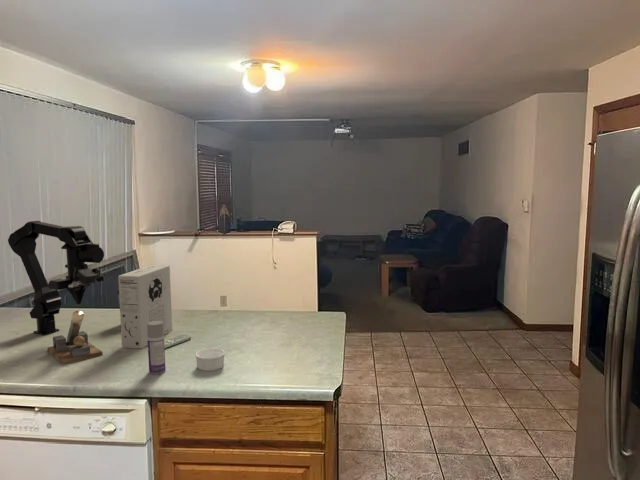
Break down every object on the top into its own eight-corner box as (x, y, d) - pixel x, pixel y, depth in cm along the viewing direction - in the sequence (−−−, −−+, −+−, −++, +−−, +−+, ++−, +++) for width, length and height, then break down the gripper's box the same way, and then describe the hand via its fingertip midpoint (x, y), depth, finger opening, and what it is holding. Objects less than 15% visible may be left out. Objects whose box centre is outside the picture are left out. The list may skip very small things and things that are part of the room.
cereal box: (154, 329, 197) (151, 264, 193) (172, 330, 195) (170, 265, 192) (121, 347, 176) (117, 275, 172) (141, 349, 174) (138, 276, 171)
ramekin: (226, 370, 155) (226, 356, 154) (196, 373, 153) (196, 359, 152) (223, 360, 163) (223, 346, 163) (195, 363, 161) (194, 349, 160)
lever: (63, 341, 173) (70, 311, 164) (74, 339, 175) (82, 309, 166) (66, 349, 171) (73, 319, 162) (77, 346, 174) (85, 317, 164)
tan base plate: (47, 350, 173) (46, 330, 172) (84, 342, 181) (83, 323, 180) (63, 364, 160) (61, 342, 159) (102, 355, 168) (101, 334, 167)
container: (151, 368, 156) (148, 320, 154) (167, 368, 156) (164, 320, 155) (147, 374, 151) (145, 325, 150) (163, 374, 152) (161, 324, 150)
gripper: (66, 267, 173) (69, 312, 175) (112, 259, 189) (115, 301, 191) (45, 264, 178) (49, 308, 180) (93, 257, 195) (95, 297, 196)
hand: (78, 304), depth 187 cm, fingers closed
